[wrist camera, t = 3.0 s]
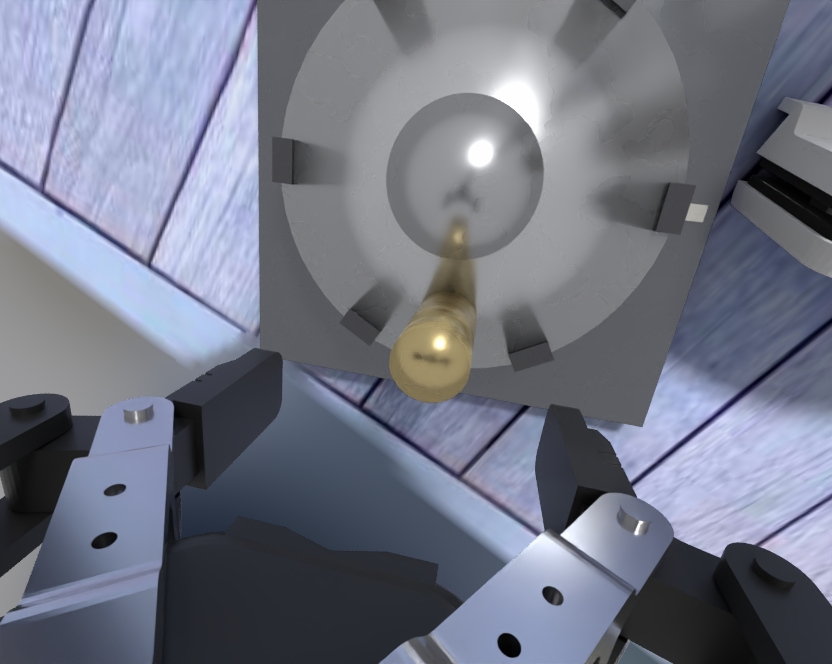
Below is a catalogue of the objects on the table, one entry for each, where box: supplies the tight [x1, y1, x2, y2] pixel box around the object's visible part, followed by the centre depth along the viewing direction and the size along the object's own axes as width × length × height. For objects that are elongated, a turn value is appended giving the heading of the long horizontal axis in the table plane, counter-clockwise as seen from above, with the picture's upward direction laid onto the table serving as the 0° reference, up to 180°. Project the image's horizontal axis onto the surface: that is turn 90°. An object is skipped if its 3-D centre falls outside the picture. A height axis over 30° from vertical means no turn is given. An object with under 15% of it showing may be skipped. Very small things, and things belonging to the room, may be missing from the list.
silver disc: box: [272, 0, 696, 403], centre depth 17 cm, size 18×19×9 cm
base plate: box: [257, 0, 790, 427], centre depth 22 cm, size 24×24×2 cm
